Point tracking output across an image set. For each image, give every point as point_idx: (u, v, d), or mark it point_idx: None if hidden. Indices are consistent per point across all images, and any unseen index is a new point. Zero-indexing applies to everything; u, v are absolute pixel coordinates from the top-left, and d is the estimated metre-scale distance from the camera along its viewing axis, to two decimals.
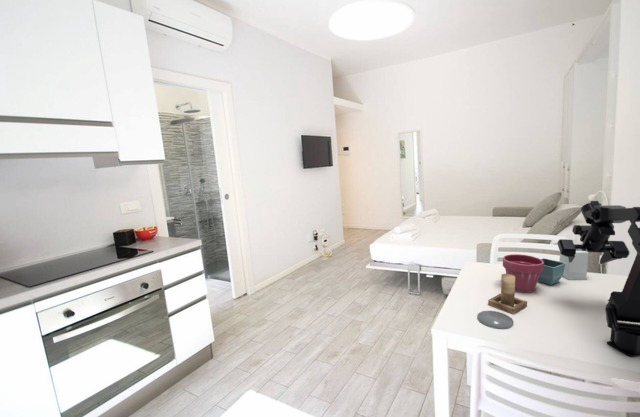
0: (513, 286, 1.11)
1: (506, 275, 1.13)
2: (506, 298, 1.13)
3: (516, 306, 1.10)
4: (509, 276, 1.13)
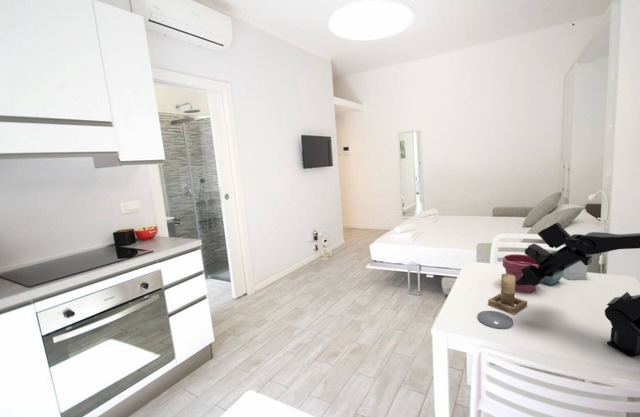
0: (513, 286, 1.11)
1: (506, 275, 1.13)
2: (506, 298, 1.13)
3: (516, 306, 1.10)
4: (509, 276, 1.13)
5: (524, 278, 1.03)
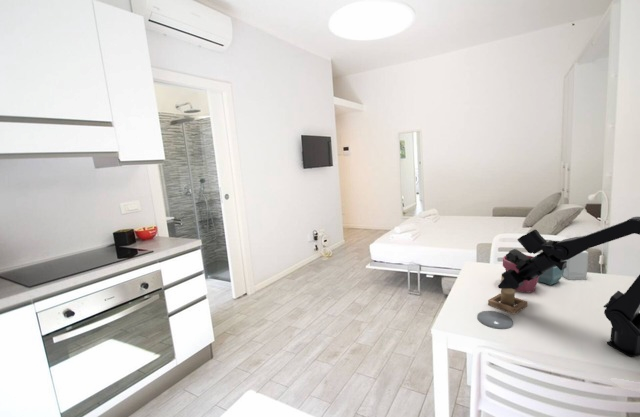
0: None
1: None
2: (506, 298, 1.13)
3: (516, 306, 1.10)
4: None
5: (505, 282, 1.08)
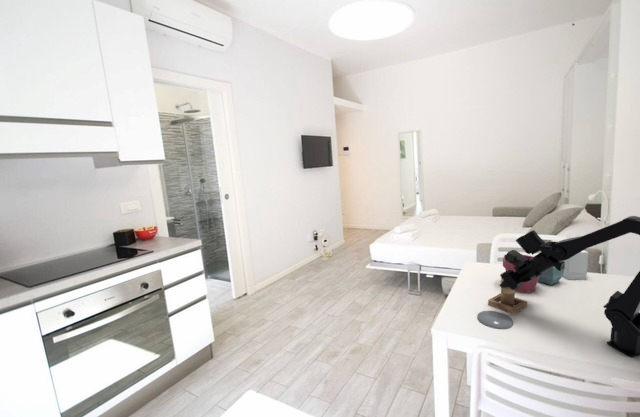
0: None
1: None
2: (506, 298, 1.13)
3: (516, 306, 1.10)
4: None
5: None
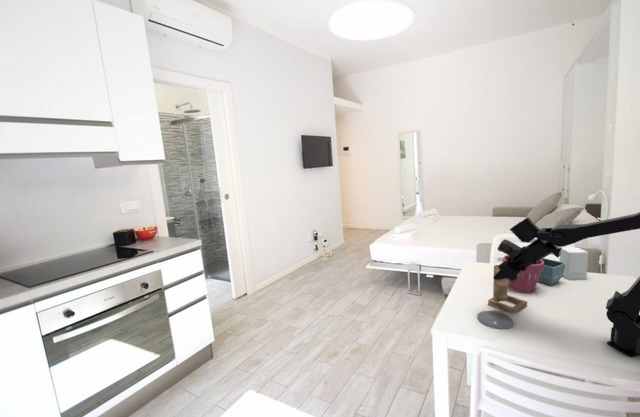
0: None
1: None
2: (500, 290, 1.08)
3: (516, 306, 1.10)
4: None
5: (502, 272, 1.05)
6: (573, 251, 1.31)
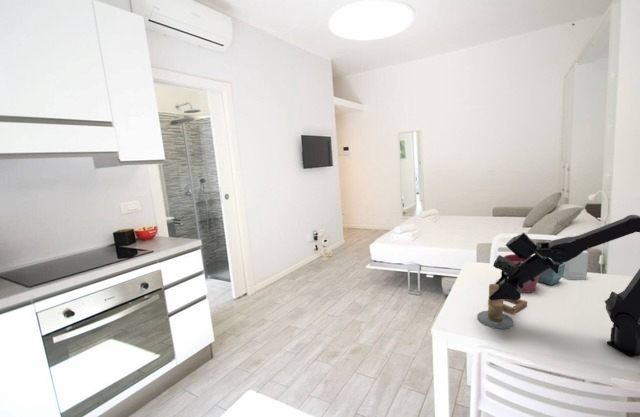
0: None
1: (494, 286, 1.04)
2: (497, 311, 1.03)
3: (516, 306, 1.10)
4: (497, 286, 1.04)
5: (499, 292, 0.99)
6: None
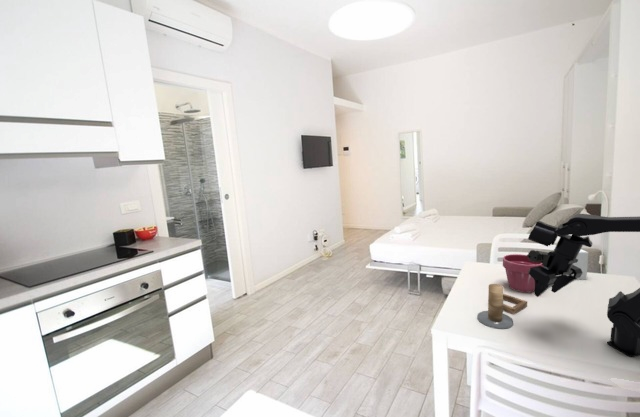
0: (502, 297, 1.03)
1: (493, 286, 1.04)
2: (497, 311, 1.03)
3: (516, 306, 1.10)
4: (497, 286, 1.04)
5: (538, 284, 0.95)
6: None
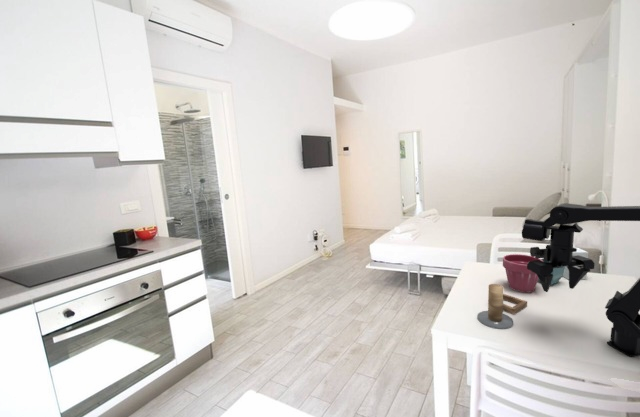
0: (502, 297, 1.03)
1: (493, 286, 1.04)
2: (497, 311, 1.03)
3: (516, 306, 1.10)
4: (497, 286, 1.04)
5: (542, 278, 0.97)
6: None
